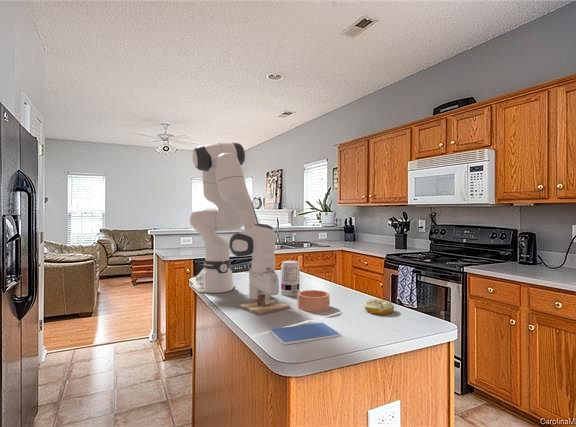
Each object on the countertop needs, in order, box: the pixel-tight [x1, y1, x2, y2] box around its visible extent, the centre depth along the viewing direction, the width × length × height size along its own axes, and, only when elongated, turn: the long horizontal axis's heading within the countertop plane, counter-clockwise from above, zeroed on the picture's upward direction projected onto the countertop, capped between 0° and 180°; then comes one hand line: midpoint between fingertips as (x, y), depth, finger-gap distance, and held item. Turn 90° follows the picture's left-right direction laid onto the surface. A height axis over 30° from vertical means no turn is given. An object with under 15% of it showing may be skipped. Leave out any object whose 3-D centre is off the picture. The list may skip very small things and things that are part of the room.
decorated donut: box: [363, 298, 395, 316], centre depth 132 cm, size 10×11×4 cm
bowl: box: [296, 289, 331, 313], centre depth 135 cm, size 12×12×6 cm
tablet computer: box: [269, 322, 342, 346], centre depth 108 cm, size 19×13×1 cm, turn 113°
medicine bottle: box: [248, 282, 265, 300], centre depth 151 cm, size 7×7×12 cm
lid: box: [237, 294, 290, 315], centre depth 135 cm, size 14×14×4 cm
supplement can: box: [280, 260, 301, 297], centre depth 156 cm, size 8×8×15 cm
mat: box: [234, 305, 293, 317], centre depth 135 cm, size 16×16×1 cm
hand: (263, 302), depth 135 cm, fingers closed on lid, 4 cm apart
